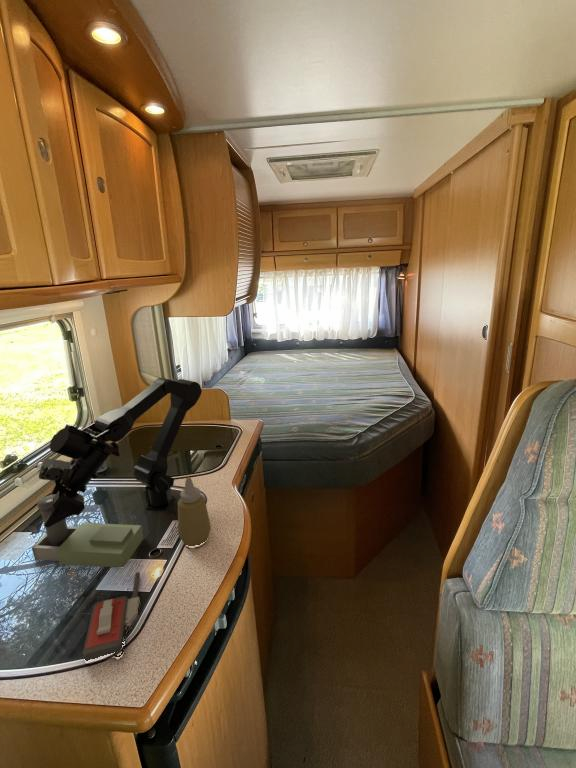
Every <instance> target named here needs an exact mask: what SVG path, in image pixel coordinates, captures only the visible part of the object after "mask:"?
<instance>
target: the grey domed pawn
mask: <svg viewBox="0 0 576 768" xmlns="http://www.w3.org/2000/svg"><path fill="white" fill-rule="evenodd" d="M55 495H56V494H53V495H50V494H49V495H47V496H44V497H42V498H41V499H39V500H38V501H37V503H36V505H37V509H38V510H39V511H40V513H41V517H42V520H43V525H44V524H45V522H46V520H47V518H48V517H49V515H50V513H51V511H52V510H53V508H54V506H53V498H54V497H55ZM67 526H68V525H67V520H66V518H65V519H63V520H61V521H60V522H58V523H56V524H54V525H52V526H50V527H48V528H47V527H44V529H45V532H46V533H47V537H48V541H49V545H50V546H57V547H60V546H61V545H62V544H63V543H64V542H65V541H66V540H67V538H68V537H69V533H68V528H67ZM46 533H45V534H46Z"/></svg>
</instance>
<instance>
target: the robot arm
mask: <svg viewBox="0 0 576 768" xmlns="http://www.w3.org/2000/svg"><path fill="white" fill-rule="evenodd" d="M202 391H203V390H202V386H201V385H200V384H199V383H198V382H197V381H193V380H188V379H184V378H182V379H181V378H180V379H178V380H172V379H169V378H165V377H158V378H156V379H155V380H154V381H153V383H151V384H150V385H148V387H146V388H145V389H144V390H143V391H141V392H139V393H138V394H137V395H136V396H134V397H133V398H132V399H131V400H130V401H128V402H127V403H126V404H124V405H123V406H121V407H118V408H115V409H113V410H110V411H107V412H106V413H104V414H102V415H100V416H99V417H97V418H96V420H94V422H92V423H91V424H88V425H87V426H85V427H83V428H82V429H79V428H77V427H76V426H74V425H72V424H69V423H66V424H65V426H64V428H61V429H60V430H59V431H57V432H56V434H54V435H53V436H52V437H51V440H50V443H49V450H50V451H51V452H52V453H55V454H58V455H61V456H64V457H67V458H70V459H71V460H70V461H64V460H61V459H54V458H43V459H42V462H41V465H40V468H39V472H38V478H39V479H40V480H44V481H45V480H46V481H53V482H54V486H53V488H52V490H51V493H50V494H49V495H53V494H56V495H55V497H54V498H53V506H54V508H53V510H52V511H51V513H50V515H49V517H48V518H47V520H46V522H45V524H44V523H43V526H44V528H45V527H47V528H48V527H50V526H52V525H54V524H56V523H58V522H60V521H61V520H63V519H65V520H66V519H67V518H69V517H72V516H80V515H81V514H82V512H83V511H84V510H85V508H86V506H85V505H86V504H85V498H84V496H83V495H82V494H79V493H78V492H81V493H85V492H86V491H87V486H88V484H89V483H90V481H92V479H94V480H95V479H96V478H97V477H98V472H97V471H98V470H99V469H100V468H101V466H102V465H103V464H104V463H105V461H106V462H107V460H108V459H109V457H110V456H111V455H113V456H116V457H120V456H121V454H120V448H119V447H120V446H119V445H118V444H117V442H120V441H121V440H123V439H124V438H125V437H126V436H127V435H128V434H129V432H130V431H131V430H132V429H133V426H134V424H135V422H136V421H137V420H138V419H139V418H140V417H141V416H142V415H144V414H145V413H146V412H148V411H149V410H150V409H151V408H152V407H154V406H155V405H156V404H157V403H158V402H160V401H162V399H164V397H166V396H167V395H168V394H170V395H169V396H170V398H169V399H170V407H169V409H168V411H167V413H166V416H165V418H164V420H163V422H162V424H161V427H160V429H159V432H158V434H157V435H156V438H155V440H154V443H153V445H152V447H151V450H150V451H149V452H148V453H147V454H145V455H143V454H142V455H141V454H140V456H139V457H138V459H137V463H136V465H135V466H134V467H133V469H134V471H133V476H134V477H135V480H136V481H137V482H139V483H141V485H144V486H145V487H144V489H145V491H144V498H145V503H146V505H145V506H144V507H145V509H146V510H158V511H159V510H161V511H162V510H163V511H165V510H168V508H169V507H170V505H171V504H172V503H173V501H174V500H175V497H176V495H173V493H172V487H173V486H174V484H175V478H174V477H171V476H169V475H167V474H168V473H167V472H168V469H169V466H168V456H169V454H170V452H171V449H172V447H173V444H174V442H175V440H176V437H177V435H178V433H179V430H180V429H181V426H182V424H183V421H184V419H185V418H186V414H187V413H188V411H189V410H190V409H191V408H193V407H194V406H196V404H197V402H198V401H199V399H200V397H201V395H202Z"/></svg>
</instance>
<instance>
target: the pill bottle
mask: <svg viewBox="0 0 576 768" xmlns="http://www.w3.org/2000/svg"><path fill="white" fill-rule="evenodd" d="M107 465H108V464H107V460H106V461H105V463H104V464H103V465H102V466H101V468H100V469H99V470H98V471H97V473H101V472H104V471H105V470H107V469H108V466H107Z"/></svg>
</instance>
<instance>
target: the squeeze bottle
mask: <svg viewBox="0 0 576 768" xmlns="http://www.w3.org/2000/svg"><path fill="white" fill-rule="evenodd" d="M179 496H180V498H179V500H178V501H177V529H178V530H177V532H178V533H177V534H178V537H179V538H180V540H181V541H182V544H183V545H188V546H195V545H200V544H201V543H203V542H205V541H206V540H207V538H208V539H209V536H210V533H211V529H212V525H211V521H210V518H209V517H210V516H209V512H208V508H207V505H206V500H205V497H204V496H203V495H202V494H201V491H200V488H198V487H196V486H195V485H194V483H193V481H192V478H191V477H186V478H185V483H184V489H182V490H181V492H180V494H179ZM207 541H208V540H207Z"/></svg>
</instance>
